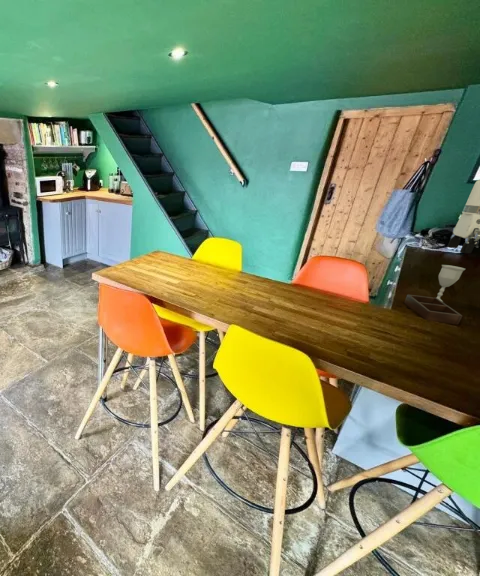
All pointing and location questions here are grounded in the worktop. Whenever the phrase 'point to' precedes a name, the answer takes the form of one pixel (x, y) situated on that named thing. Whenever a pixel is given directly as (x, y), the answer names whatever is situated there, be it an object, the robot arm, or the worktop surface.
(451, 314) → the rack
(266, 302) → the worktop surface
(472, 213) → the robot arm
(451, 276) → the chalice
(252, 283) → the worktop surface
